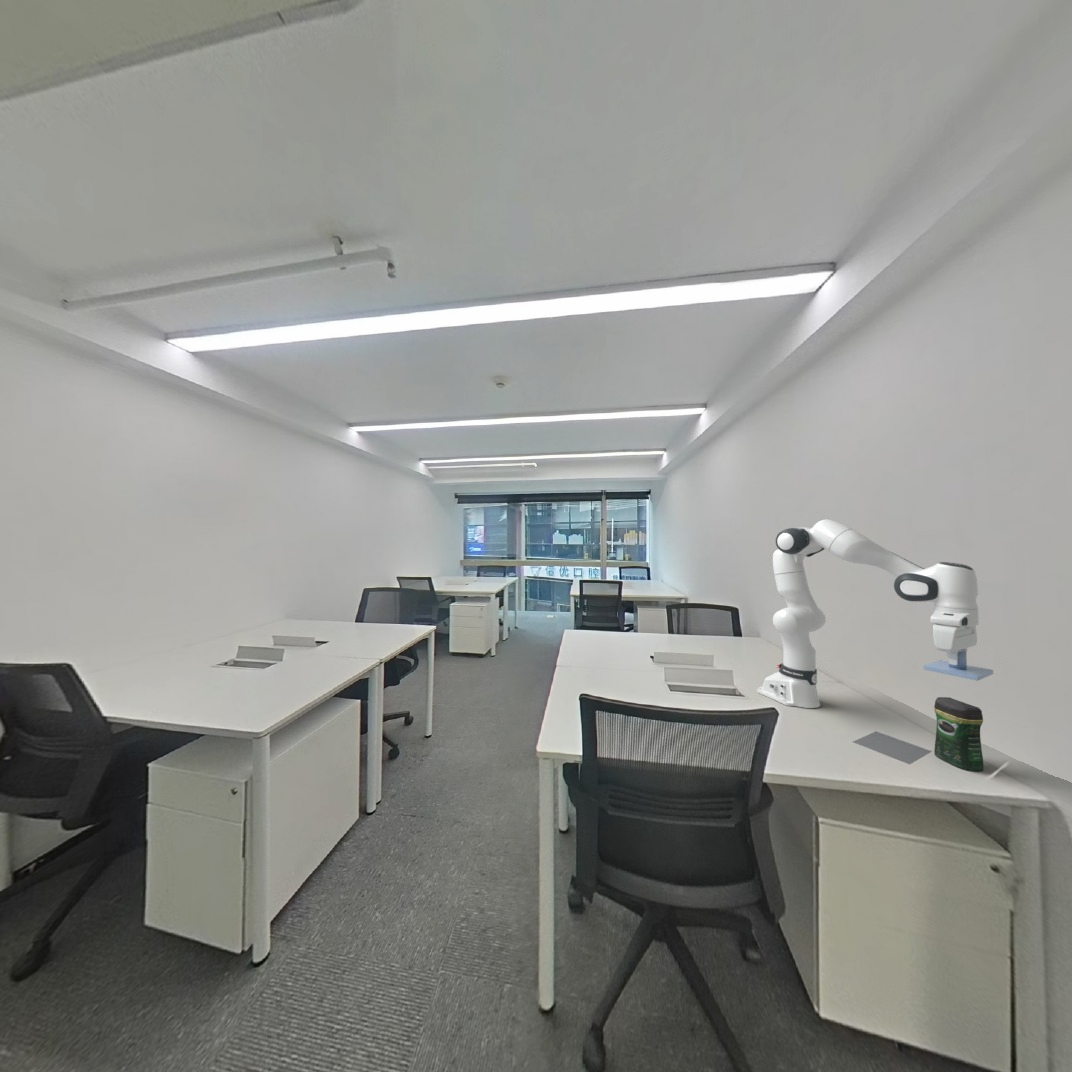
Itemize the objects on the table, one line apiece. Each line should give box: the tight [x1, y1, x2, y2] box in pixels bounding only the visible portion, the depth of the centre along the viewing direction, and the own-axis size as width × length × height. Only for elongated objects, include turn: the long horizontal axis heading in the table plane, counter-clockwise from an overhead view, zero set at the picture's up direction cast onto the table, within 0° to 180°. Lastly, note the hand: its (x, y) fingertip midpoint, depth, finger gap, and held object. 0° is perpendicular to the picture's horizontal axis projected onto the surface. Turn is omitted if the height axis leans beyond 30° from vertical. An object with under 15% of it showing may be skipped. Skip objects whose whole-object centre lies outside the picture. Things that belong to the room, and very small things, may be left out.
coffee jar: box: [933, 696, 984, 772], centre depth 114 cm, size 10×8×19 cm
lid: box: [923, 651, 994, 682], centre depth 115 cm, size 11×13×6 cm
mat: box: [852, 731, 932, 765], centre depth 122 cm, size 14×16×1 cm
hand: (957, 663), depth 115 cm, fingers closed on lid, 4 cm apart
